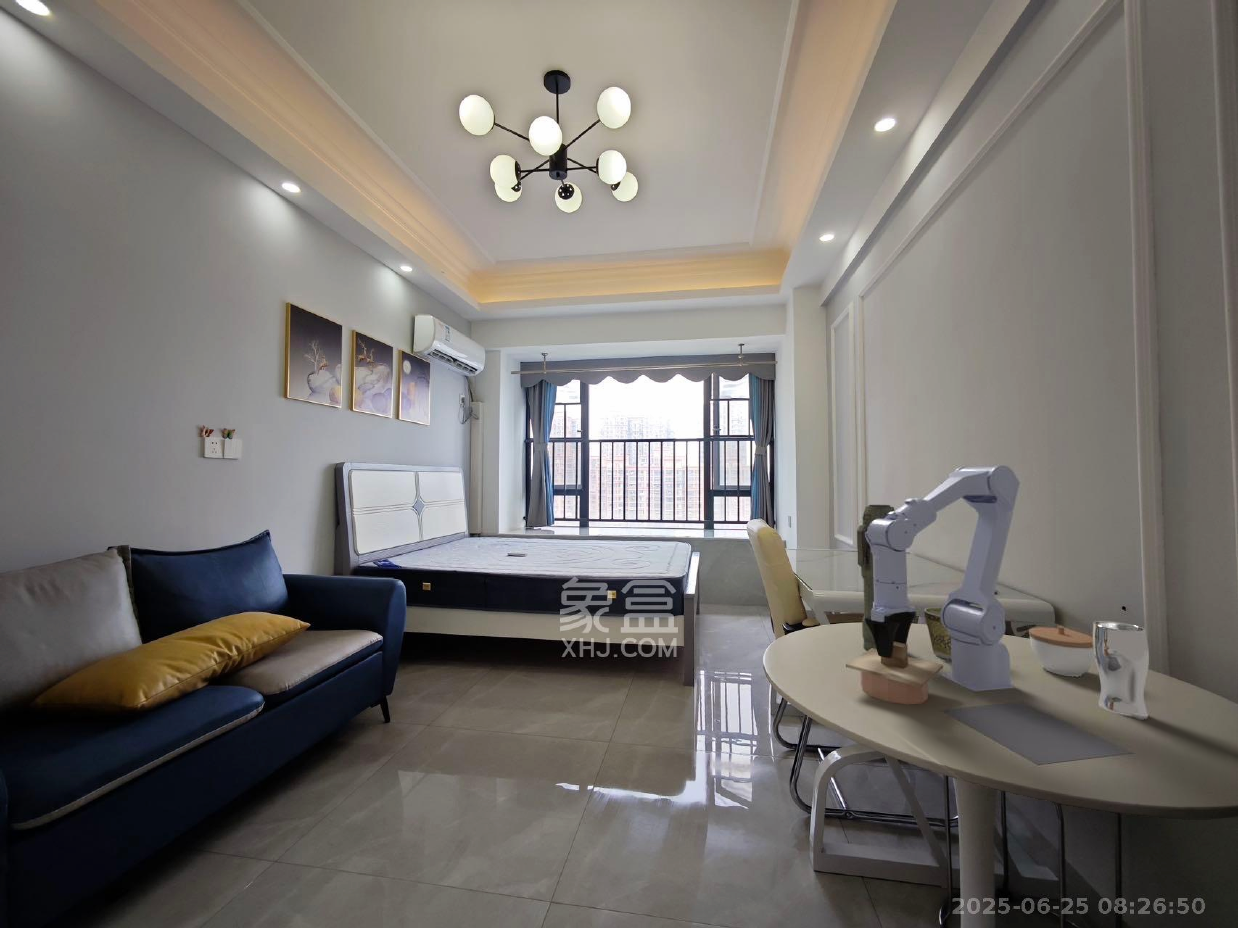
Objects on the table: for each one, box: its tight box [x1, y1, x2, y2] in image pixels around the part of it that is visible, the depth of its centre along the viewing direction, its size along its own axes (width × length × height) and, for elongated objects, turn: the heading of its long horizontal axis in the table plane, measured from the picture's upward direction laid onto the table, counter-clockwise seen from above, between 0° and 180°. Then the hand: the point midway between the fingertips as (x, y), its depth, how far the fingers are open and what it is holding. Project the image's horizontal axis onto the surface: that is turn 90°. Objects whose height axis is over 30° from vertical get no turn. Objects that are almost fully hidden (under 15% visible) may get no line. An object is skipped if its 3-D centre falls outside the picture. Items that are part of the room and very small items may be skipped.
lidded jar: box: [1028, 625, 1095, 678], centre depth 105 cm, size 11×11×9 cm
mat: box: [940, 701, 1135, 766], centre depth 79 cm, size 17×17×1 cm
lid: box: [845, 642, 944, 687], centre depth 94 cm, size 13×13×5 cm
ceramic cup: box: [923, 606, 952, 661], centre depth 115 cm, size 13×10×10 cm
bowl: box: [859, 671, 929, 705], centre depth 94 cm, size 11×11×5 cm
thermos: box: [856, 504, 896, 651], centre depth 119 cm, size 9×12×35 cm
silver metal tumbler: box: [1091, 620, 1150, 721], centre depth 86 cm, size 7×7×15 cm
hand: (892, 651), depth 94 cm, fingers open, 7 cm apart
